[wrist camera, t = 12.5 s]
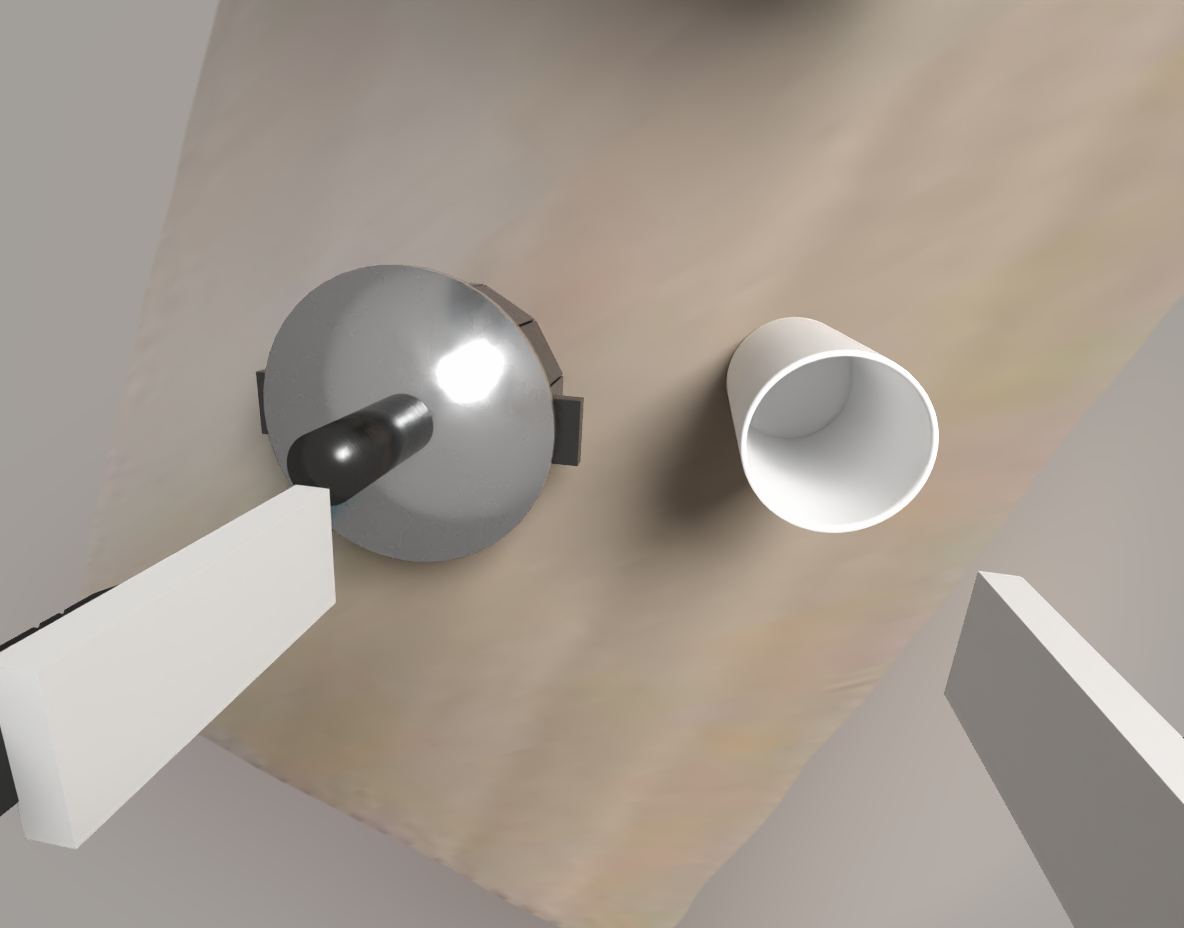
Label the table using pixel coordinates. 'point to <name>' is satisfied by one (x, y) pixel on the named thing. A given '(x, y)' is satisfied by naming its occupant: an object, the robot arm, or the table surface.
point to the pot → (565, 406)
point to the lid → (410, 411)
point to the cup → (828, 426)
